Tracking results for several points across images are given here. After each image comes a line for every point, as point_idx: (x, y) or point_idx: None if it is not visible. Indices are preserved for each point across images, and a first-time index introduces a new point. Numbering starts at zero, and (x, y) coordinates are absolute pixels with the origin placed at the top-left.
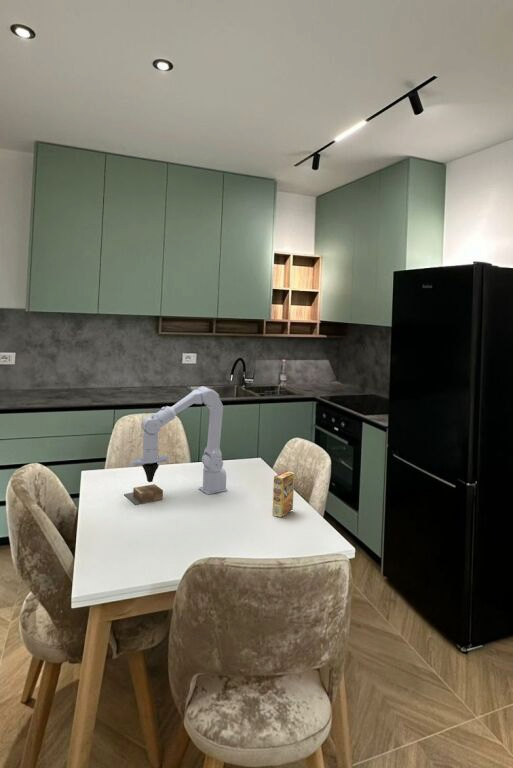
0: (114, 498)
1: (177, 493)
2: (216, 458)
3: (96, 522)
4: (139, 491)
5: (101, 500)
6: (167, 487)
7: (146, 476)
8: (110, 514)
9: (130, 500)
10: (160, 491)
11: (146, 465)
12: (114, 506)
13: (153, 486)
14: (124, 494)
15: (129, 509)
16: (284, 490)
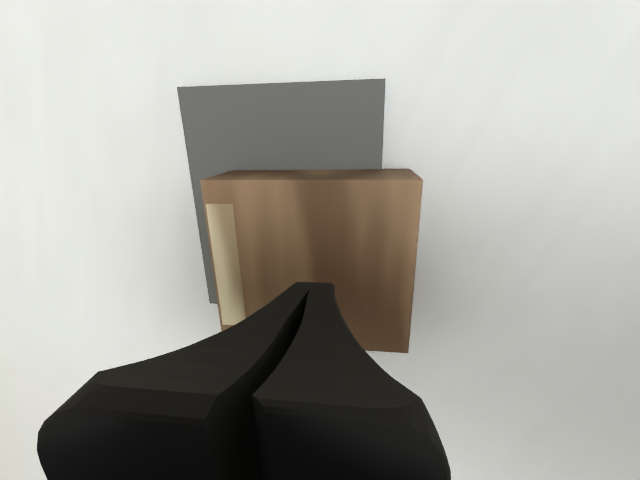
0: (109, 125)
1: (564, 257)
2: None
3: (15, 382)
4: (225, 287)
5: (25, 120)
6: (595, 77)
7: (273, 302)
8: (73, 340)
9: (200, 225)
10: (384, 346)
11: None
12: (99, 257)
13: (380, 236)
14: (179, 98)
15: (170, 334)
16: None
